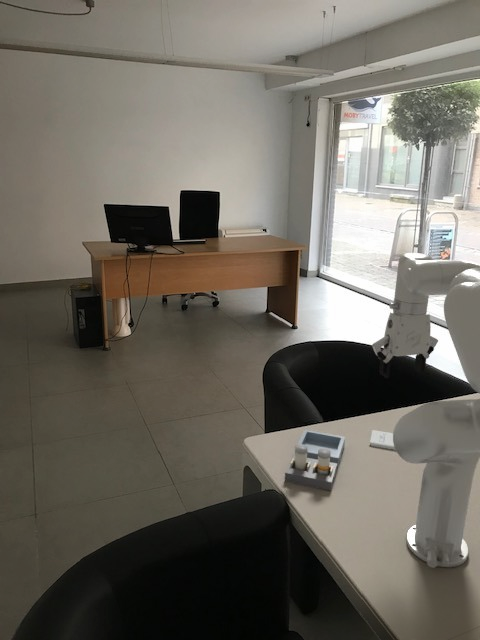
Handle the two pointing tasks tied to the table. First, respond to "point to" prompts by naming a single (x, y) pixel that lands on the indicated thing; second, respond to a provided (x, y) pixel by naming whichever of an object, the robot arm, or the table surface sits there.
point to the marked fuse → (323, 461)
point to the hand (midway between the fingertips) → (401, 373)
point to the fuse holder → (311, 474)
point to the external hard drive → (382, 439)
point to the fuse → (300, 457)
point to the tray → (323, 444)
